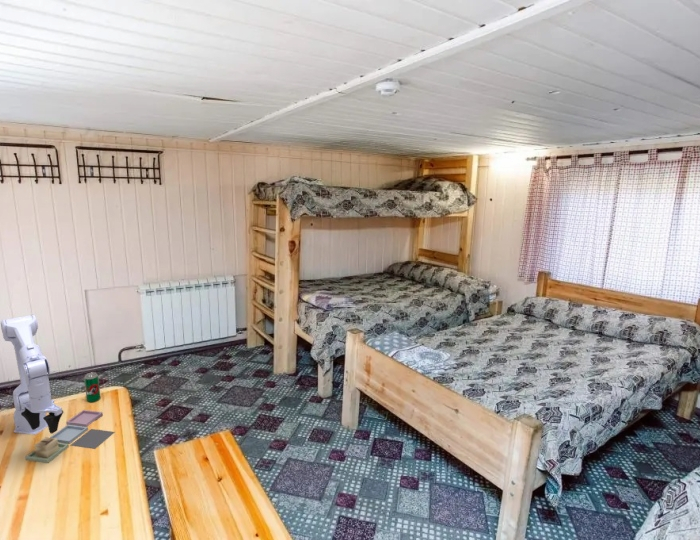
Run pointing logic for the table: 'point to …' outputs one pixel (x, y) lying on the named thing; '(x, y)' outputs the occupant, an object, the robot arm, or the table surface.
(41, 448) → the letter cube
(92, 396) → the soda can
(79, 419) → the tray far
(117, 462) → the table surface
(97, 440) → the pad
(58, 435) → the tray mid
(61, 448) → the tray near
